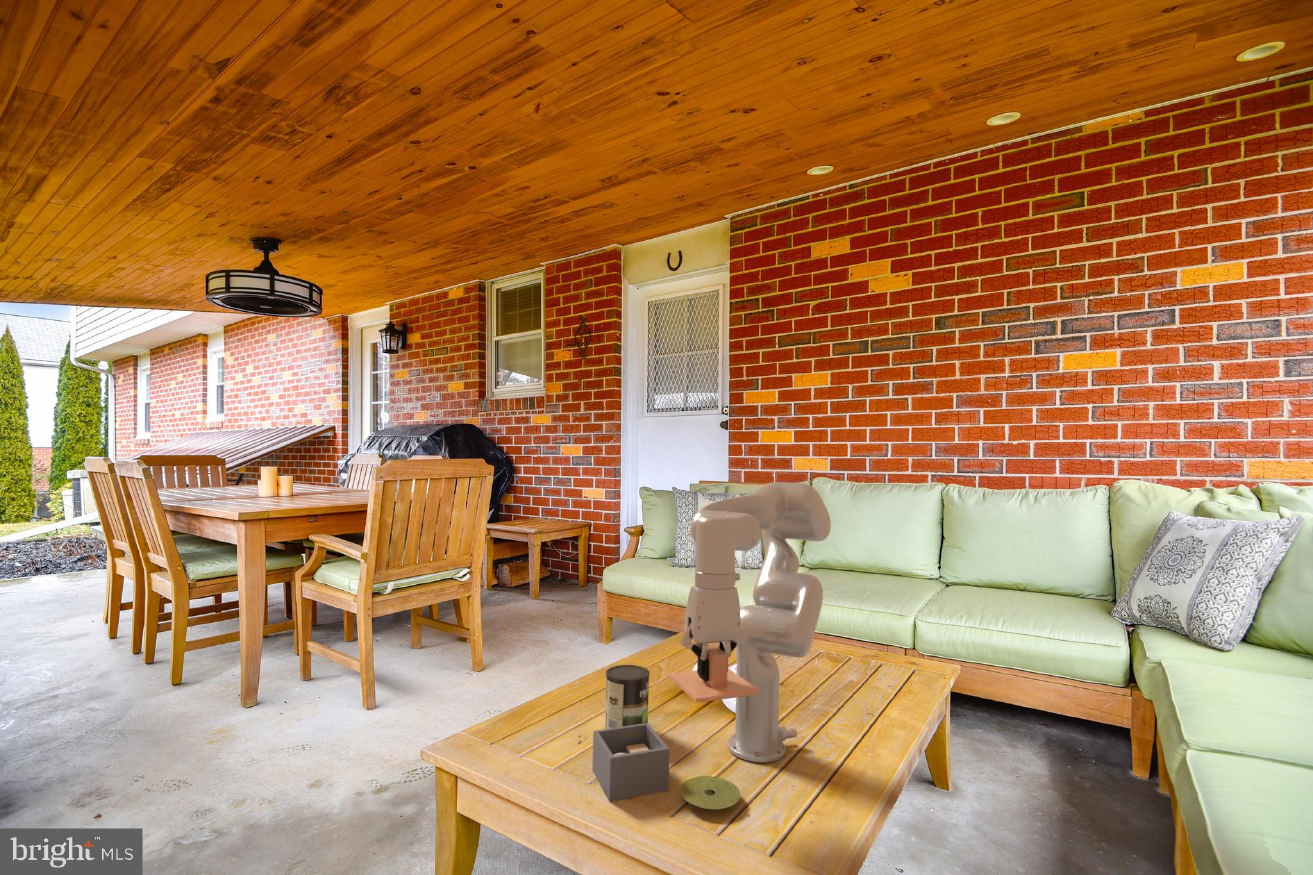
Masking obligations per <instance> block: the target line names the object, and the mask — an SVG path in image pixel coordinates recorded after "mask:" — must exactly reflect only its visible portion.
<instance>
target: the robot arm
mask: <svg viewBox="0 0 1313 875" xmlns="http://www.w3.org/2000/svg"><path fill="white" fill-rule="evenodd" d="M831 526H832V522H831V517H830V514H829V511H828V509H827V507H826V504H825V502H824V500H823V499H822V497H821V494H819V492H818V491H817V490H816V488H815V487H814V486H812V485H810V484H809V483H803V482H802V483H801V482H786V481H784V482H782V481H780V482H779V481H776V482H775V481H773V482H768V483H765V484H764V485H762V486H761V487H759V488H757V489H756V490H753V492H751V493H749V494H747V495H745V494H744V495H741V496H737V497H736V496H735V497H732V498H726V499H721V500H718V501H714V502H711V503H709V504H707V505H705V506H703V507H702V508H700V509H699V510H697V512H696V513H695V515H694V516H693V518H692V520H691V523H690V535H691V538H692V540H693V541H694V543H695V565H694V566H695V571H694V586H690V589H689V591H688V592H689V593H688V597H687V601H686V602H687V603H686V610H685V618H684V619H685V620H684V635H683V636H682V638H681V641H680V644H681V645H682V646H683V647H684V648H686V649H687V650H690V651H692V652H693V654H695V656H696V657H697V662H696V663H697V665H696V666H697V668H696V670H697V673H698V675H699V677H700V678H701V679H702V680H704V681H705V682H707V681H709V660H708V659H707V652H708V645H709V644H714V643H718V646H717V647H718V648H719V649H721V650H722V651H724V652H725V653H727V654H728V659H729V658H730V657H731V655H732V653H733V652H734V650H735V652H736V674H737V675H739V676H740V677H741V678H743V679H744V680H746V681H747V682H748V683H750V684H751V685H753V686H754V687H755V688H757V689H758V690H759V694H753V695H748V696H743V697H736V698H735V731H734V732H735V733H734V734H733V735H731V736H730V737H729V738H728V740H727V742H728V744H727V746H728V749H729V751H730V752H731V754H732V755H734V756H735V757H737V758H739V759H742V760H745V761H749V762H753V763H763V764H764V763H770V762H771V763H772V762H777V761H778V760H780V759H782V758H783V757H784V756H785V754H786V746H785V744H784V741H786V740H787V739H794V738H797V737H798V731H797V729H796V727H795V728H786V726H785V725H779V722H780V720H779V714H780V678H781V676H780V668H779V666H778V663H777V661H776V659H775V657H774V655H773V654H775V655H780V656H784V657H785V656H786V657H791V658H798V659H799V658H804V657H805V656H807V655H808V654H809V652H810V650H811V647H812V644H813V640H814V637H815V632H816V629H817V625H818V622H819V619H820V615H821V611H822V607H823V606H822V605H823V599H824V592H823V586H822V583H821V580H819V579H818V577H816V576H814V575H812V574H809V573H802V572H801V573H800V572H798V570H799V567H800V559H799V557H798V555H797V553H796V551H795V550H794V548H793V547H792V546H791V545H790V544H789V543H788V541H787V539H788V540H796V541H807V542H822V541H825V540H827V538H828V536H829V535H830V532H831ZM761 539H762V540H763V541H762V542H763V546H764V552H765V553H764V559H763V561H762V564H761V567H760V569H759V571H758V575H757V577H756V580H755V583H754V586H753V591H752V598H753V602H754V603H755V604H754V605H753V604H752V605H749V604H748V605H745V606H743V607H741V605H740V597H739V592H738V588H737V587H736V582H737V581H740V580H741V575H740V573H736V571H735V570H736V569H735V568H736V551H739V552H745V551H750V550H752V549H753V550H754V548H755V547H757V545H758V544H759V542H760V541H761ZM692 640H693V642H692ZM728 668H729V663H728V664H727V672H728Z"/></svg>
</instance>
